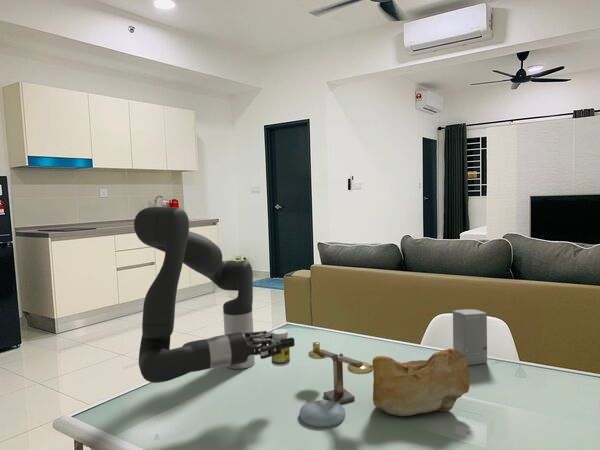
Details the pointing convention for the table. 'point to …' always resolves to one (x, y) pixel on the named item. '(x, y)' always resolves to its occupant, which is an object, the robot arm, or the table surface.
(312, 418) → the dish
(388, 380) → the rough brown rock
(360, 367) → the balance
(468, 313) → the skincare box
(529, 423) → the table surface
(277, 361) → the supplement bottle
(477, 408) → the table surface
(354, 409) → the table surface
